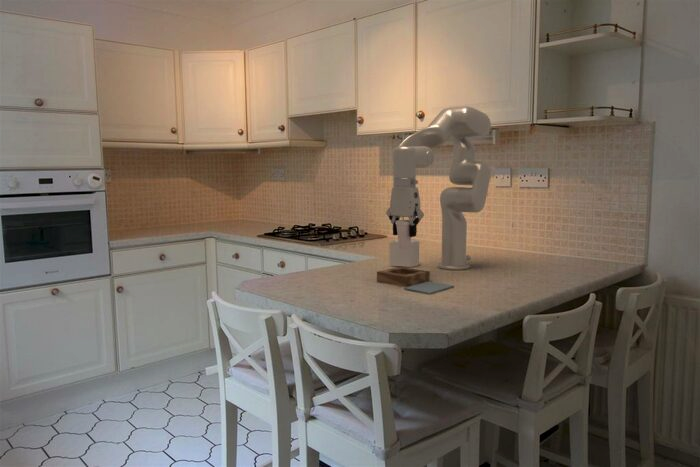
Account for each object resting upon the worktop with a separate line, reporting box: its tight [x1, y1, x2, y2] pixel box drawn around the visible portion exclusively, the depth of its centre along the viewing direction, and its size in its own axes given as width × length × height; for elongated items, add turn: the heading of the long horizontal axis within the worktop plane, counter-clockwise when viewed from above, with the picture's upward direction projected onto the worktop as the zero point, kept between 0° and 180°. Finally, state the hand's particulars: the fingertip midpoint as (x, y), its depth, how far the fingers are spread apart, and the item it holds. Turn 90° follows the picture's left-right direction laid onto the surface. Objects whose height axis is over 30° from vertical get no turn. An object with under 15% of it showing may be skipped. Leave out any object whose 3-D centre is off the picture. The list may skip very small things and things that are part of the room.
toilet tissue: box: [388, 238, 420, 268], centre depth 218 cm, size 11×12×10 cm
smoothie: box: [395, 217, 412, 250], centre depth 185 cm, size 6×6×14 cm
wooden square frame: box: [376, 266, 431, 288], centre depth 186 cm, size 13×13×4 cm
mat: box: [403, 281, 455, 295], centre depth 176 cm, size 14×10×1 cm
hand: (404, 235), depth 185 cm, fingers closed on smoothie, 6 cm apart
